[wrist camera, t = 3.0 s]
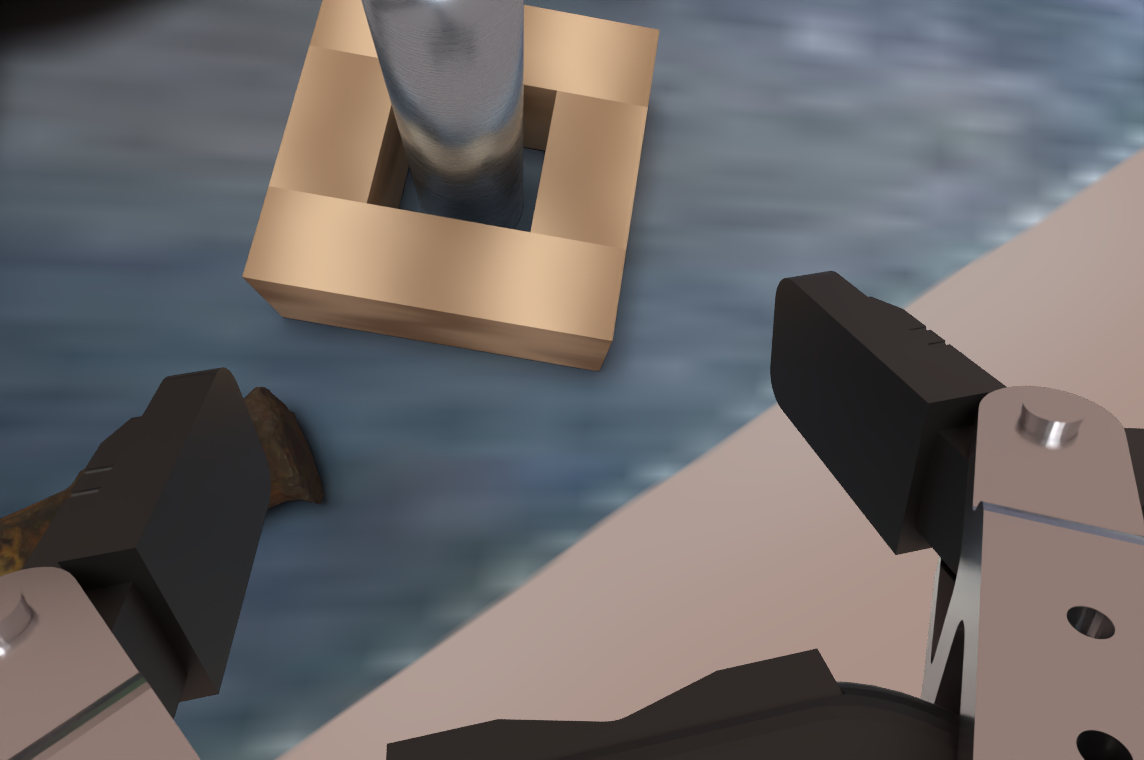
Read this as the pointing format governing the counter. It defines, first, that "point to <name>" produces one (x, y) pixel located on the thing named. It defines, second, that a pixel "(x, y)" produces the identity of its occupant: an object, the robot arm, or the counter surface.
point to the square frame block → (450, 246)
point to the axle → (457, 101)
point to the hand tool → (284, 446)
